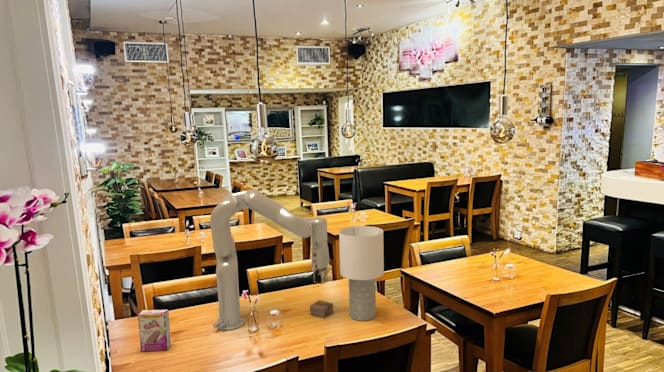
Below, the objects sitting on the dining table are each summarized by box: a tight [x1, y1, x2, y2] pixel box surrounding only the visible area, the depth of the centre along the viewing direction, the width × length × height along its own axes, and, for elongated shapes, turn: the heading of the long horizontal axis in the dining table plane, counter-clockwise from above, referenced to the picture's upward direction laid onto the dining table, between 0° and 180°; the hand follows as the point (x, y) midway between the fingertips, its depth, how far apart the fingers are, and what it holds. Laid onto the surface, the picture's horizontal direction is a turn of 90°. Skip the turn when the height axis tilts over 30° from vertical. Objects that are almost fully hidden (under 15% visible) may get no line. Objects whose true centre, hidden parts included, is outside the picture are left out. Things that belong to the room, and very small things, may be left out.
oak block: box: [313, 268, 329, 285], centre depth 215 cm, size 5×5×6 cm
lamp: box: [338, 225, 385, 322], centre depth 212 cm, size 21×21×42 cm
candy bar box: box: [137, 309, 172, 353], centre depth 187 cm, size 11×5×16 cm, turn 92°
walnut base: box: [309, 299, 334, 320], centre depth 218 cm, size 8×8×5 cm
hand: (320, 280), depth 216 cm, fingers closed on oak block, 5 cm apart
